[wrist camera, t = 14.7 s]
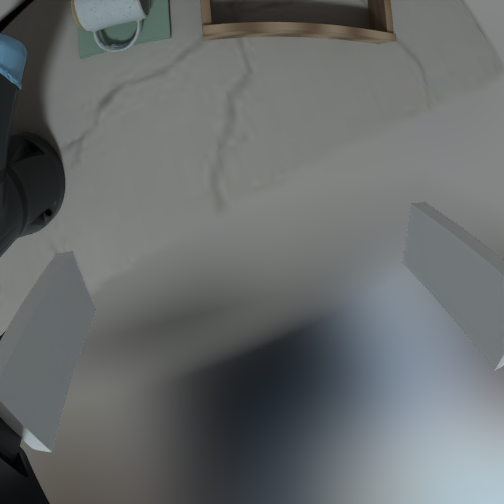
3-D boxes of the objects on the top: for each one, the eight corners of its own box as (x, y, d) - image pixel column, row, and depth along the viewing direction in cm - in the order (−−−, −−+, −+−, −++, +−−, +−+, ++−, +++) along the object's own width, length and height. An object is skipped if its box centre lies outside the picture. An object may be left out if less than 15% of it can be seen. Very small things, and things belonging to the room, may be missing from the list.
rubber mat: (82, 58, 30) (79, 57, 29) (80, -16, 24) (78, -18, 24) (171, 37, 31) (170, 36, 31) (167, -38, 25) (166, -40, 25)
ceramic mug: (87, -7, 25) (65, -22, 18) (147, -26, 25) (136, -47, 19) (95, 60, 30) (72, 57, 24) (156, 42, 31) (145, 33, 24)
